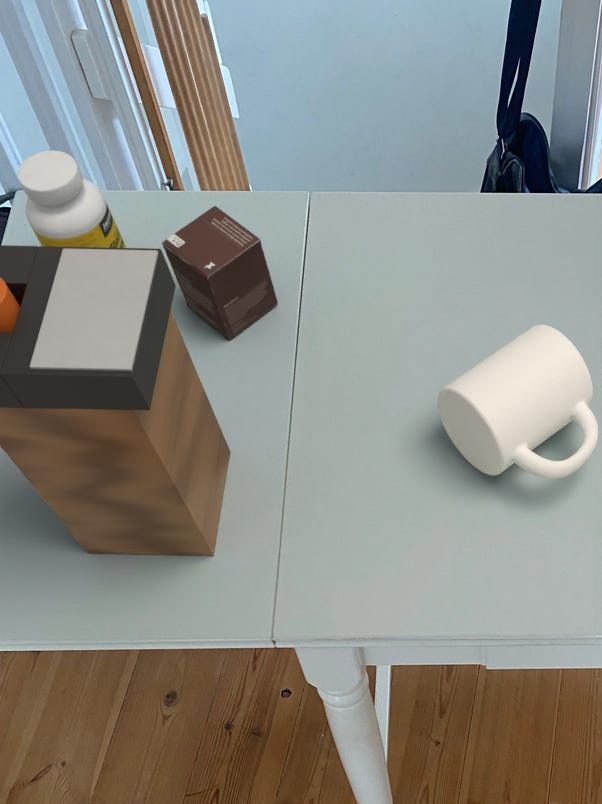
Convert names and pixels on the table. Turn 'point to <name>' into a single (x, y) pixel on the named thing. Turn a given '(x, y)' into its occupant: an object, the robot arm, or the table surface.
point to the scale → (84, 326)
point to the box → (221, 271)
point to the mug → (521, 405)
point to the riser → (130, 464)
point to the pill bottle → (65, 204)
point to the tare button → (7, 309)
